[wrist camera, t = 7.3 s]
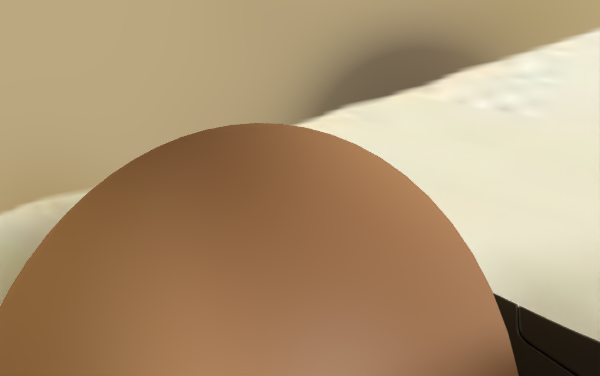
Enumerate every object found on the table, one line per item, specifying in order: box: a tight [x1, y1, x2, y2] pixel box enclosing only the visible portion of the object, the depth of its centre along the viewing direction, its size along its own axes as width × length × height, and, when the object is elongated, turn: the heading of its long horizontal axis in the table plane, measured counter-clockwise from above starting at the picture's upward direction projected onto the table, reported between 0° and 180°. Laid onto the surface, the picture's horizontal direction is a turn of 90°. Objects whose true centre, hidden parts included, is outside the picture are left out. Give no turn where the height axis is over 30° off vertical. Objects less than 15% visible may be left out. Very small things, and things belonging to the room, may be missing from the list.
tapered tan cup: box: [0, 123, 519, 376], centre depth 8 cm, size 6×6×12 cm
